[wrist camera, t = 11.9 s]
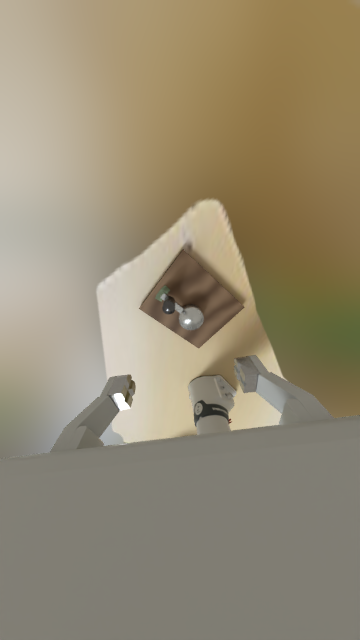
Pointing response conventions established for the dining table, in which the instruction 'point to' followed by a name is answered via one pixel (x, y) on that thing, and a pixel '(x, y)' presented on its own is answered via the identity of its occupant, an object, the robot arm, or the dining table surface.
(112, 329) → the dining table surface
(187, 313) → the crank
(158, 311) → the board
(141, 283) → the dining table surface
